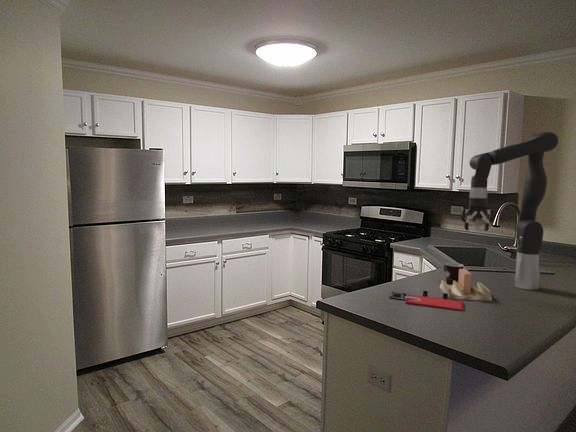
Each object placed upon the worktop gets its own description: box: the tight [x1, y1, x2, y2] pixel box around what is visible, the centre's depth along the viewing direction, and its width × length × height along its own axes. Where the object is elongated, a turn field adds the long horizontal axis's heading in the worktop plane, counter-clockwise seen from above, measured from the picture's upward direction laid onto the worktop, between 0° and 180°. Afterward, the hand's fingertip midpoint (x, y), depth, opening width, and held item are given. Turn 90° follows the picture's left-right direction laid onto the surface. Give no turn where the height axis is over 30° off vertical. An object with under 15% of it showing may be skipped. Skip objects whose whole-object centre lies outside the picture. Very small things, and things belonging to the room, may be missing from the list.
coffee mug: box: [443, 262, 465, 285], centre depth 198 cm, size 12×9×10 cm
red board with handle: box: [389, 290, 465, 312], centre depth 170 cm, size 30×3×15 cm
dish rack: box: [439, 279, 493, 302], centre depth 181 cm, size 18×18×4 cm
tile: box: [458, 268, 473, 294], centre depth 181 cm, size 10×3×9 cm, turn 170°
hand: (476, 230), depth 189 cm, fingers open, 8 cm apart
